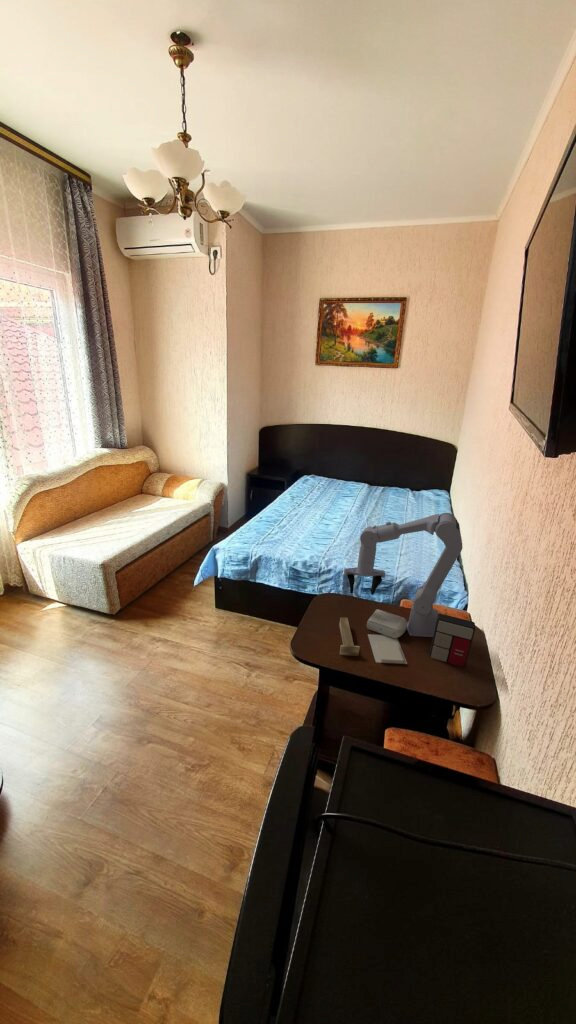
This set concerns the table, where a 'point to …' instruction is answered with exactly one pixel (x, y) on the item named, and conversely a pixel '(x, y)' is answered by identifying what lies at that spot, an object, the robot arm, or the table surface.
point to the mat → (382, 638)
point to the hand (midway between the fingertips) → (361, 592)
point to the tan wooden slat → (347, 639)
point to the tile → (389, 652)
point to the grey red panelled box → (452, 639)
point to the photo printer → (387, 624)
